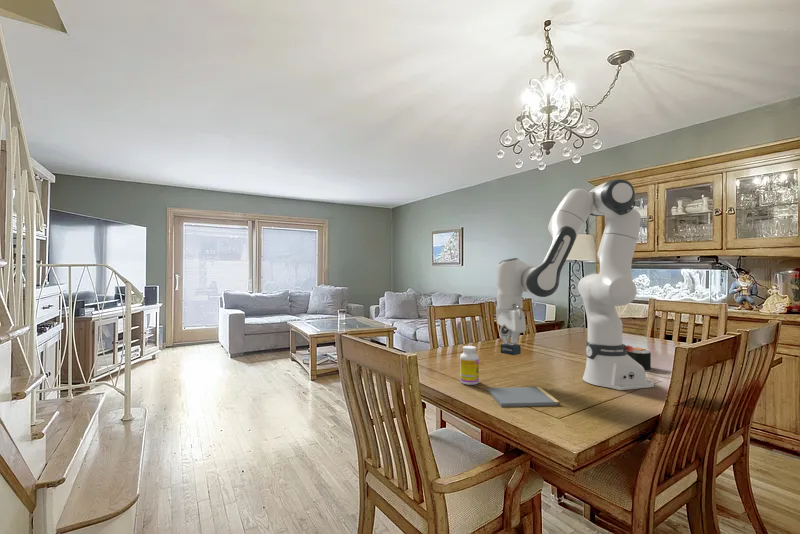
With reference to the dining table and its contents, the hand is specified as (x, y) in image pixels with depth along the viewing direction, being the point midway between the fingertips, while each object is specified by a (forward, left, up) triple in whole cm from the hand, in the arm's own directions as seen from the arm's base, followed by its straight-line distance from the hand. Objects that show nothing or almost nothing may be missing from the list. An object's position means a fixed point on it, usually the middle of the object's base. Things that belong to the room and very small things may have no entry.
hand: (510, 340), depth 136 cm
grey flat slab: (+3, +17, -15) cm, 23 cm away
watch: (0, 0, -5) cm, 5 cm away
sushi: (-58, -14, -15) cm, 62 cm away
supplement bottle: (+16, +1, -15) cm, 22 cm away
